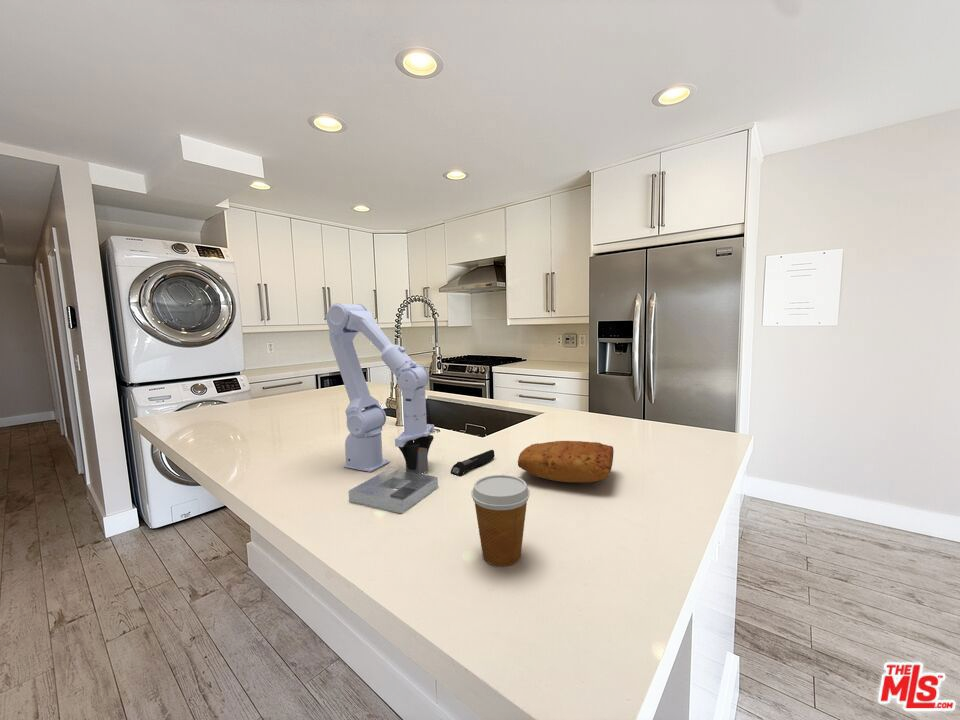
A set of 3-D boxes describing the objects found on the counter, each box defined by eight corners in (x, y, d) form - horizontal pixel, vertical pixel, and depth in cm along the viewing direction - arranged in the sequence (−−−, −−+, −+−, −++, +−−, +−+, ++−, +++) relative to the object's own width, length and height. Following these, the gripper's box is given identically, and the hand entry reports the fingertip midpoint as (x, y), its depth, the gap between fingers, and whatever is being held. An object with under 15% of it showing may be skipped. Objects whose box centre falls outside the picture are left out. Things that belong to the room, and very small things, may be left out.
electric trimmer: (498, 461, 111) (498, 450, 111) (460, 478, 99) (460, 465, 99) (487, 458, 113) (487, 447, 113) (449, 474, 102) (449, 462, 101)
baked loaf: (618, 472, 100) (618, 441, 99) (607, 500, 85) (607, 463, 84) (534, 460, 110) (533, 431, 109) (510, 483, 94) (510, 450, 94)
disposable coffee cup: (471, 541, 70) (469, 475, 69) (524, 537, 71) (523, 472, 70) (475, 575, 61) (472, 499, 59) (536, 570, 61) (535, 495, 60)
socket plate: (349, 501, 87) (348, 488, 86) (390, 478, 99) (389, 466, 99) (401, 513, 81) (400, 499, 80) (438, 487, 93) (437, 474, 93)
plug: (406, 473, 102) (405, 450, 101) (415, 468, 106) (414, 446, 105) (419, 476, 100) (418, 452, 100) (428, 470, 104) (427, 447, 103)
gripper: (411, 422, 93) (413, 478, 95) (443, 409, 106) (444, 459, 108) (386, 419, 96) (389, 474, 98) (420, 407, 109) (422, 455, 111)
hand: (416, 466), depth 103 cm, fingers closed on plug, 4 cm apart
